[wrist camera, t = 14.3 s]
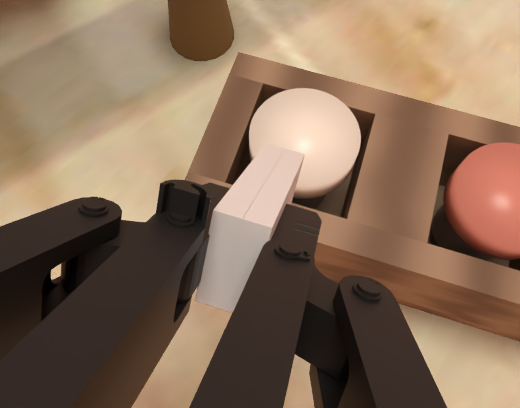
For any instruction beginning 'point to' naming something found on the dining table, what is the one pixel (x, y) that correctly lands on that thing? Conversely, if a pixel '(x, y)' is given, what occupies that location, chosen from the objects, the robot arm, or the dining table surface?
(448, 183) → the red button
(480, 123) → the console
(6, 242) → the robot arm
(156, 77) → the dining table surface
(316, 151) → the ivory button
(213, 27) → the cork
